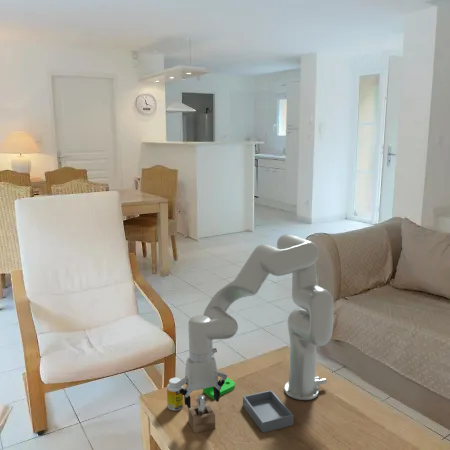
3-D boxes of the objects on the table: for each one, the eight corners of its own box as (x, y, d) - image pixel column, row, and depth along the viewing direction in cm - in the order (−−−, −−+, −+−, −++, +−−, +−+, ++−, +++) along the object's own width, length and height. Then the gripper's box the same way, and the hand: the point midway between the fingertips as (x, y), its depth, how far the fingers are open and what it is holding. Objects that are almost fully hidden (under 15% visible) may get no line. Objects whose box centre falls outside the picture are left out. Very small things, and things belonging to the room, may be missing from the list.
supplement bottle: (176, 413, 158) (175, 386, 156) (164, 408, 161) (163, 381, 159) (186, 405, 163) (186, 379, 161) (174, 400, 166) (173, 374, 164)
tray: (271, 399, 166) (271, 390, 166) (293, 425, 152) (293, 415, 151) (242, 405, 163) (242, 396, 162) (262, 432, 148) (262, 422, 147)
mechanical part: (213, 400, 166) (213, 380, 165) (203, 393, 171) (203, 373, 169) (238, 388, 174) (238, 369, 172) (227, 382, 178) (227, 363, 177)
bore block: (208, 416, 156) (208, 403, 155) (215, 428, 150) (215, 414, 149) (188, 420, 154) (188, 407, 153) (194, 433, 148) (194, 419, 147)
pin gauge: (204, 421, 154) (203, 394, 152) (206, 425, 151) (206, 398, 149) (197, 423, 153) (196, 396, 151) (199, 427, 150) (199, 399, 149)
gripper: (222, 344, 154) (223, 391, 157) (171, 354, 148) (173, 402, 151) (230, 354, 147) (231, 403, 150) (177, 365, 141) (179, 415, 144)
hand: (202, 402), depth 151 cm, fingers open, 9 cm apart
